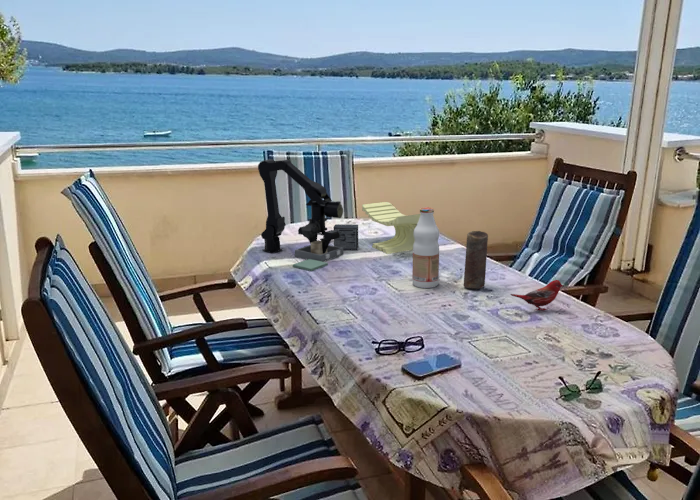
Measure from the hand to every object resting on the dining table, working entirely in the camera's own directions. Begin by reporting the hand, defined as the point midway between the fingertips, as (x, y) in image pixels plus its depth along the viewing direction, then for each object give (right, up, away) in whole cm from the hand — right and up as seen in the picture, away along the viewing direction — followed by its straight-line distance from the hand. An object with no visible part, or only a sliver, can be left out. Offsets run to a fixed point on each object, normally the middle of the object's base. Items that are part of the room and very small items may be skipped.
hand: (319, 252), depth 258 cm
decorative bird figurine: (+72, -19, -64) cm, 98 cm away
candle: (+57, -13, -42) cm, 72 cm away
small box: (+11, +1, +11) cm, 16 cm away
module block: (0, -2, 0) cm, 2 cm away
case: (0, -1, 0) cm, 2 cm away
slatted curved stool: (+33, +2, +11) cm, 35 cm away
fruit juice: (+40, -12, -38) cm, 56 cm away
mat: (-3, -5, -14) cm, 15 cm away
